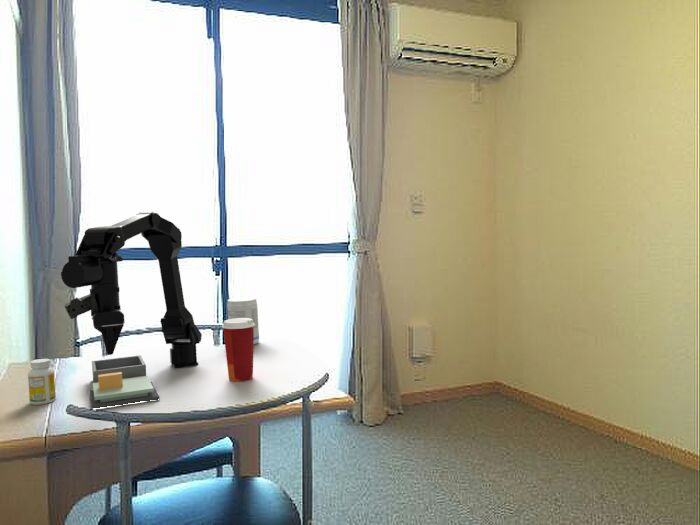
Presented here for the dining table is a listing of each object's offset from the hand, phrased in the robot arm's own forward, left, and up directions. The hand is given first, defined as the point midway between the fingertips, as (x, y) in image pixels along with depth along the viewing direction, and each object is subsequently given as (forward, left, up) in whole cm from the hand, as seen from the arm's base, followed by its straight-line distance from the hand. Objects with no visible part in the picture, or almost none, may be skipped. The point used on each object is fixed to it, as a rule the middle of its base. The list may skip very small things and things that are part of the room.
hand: (108, 350), depth 136 cm
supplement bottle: (+14, -7, -12) cm, 20 cm away
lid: (-2, 0, -9) cm, 10 cm away
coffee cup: (-31, -2, -12) cm, 33 cm away
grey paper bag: (-43, -43, -12) cm, 61 cm away
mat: (-3, 0, -11) cm, 12 cm away
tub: (-3, -15, -11) cm, 19 cm away
